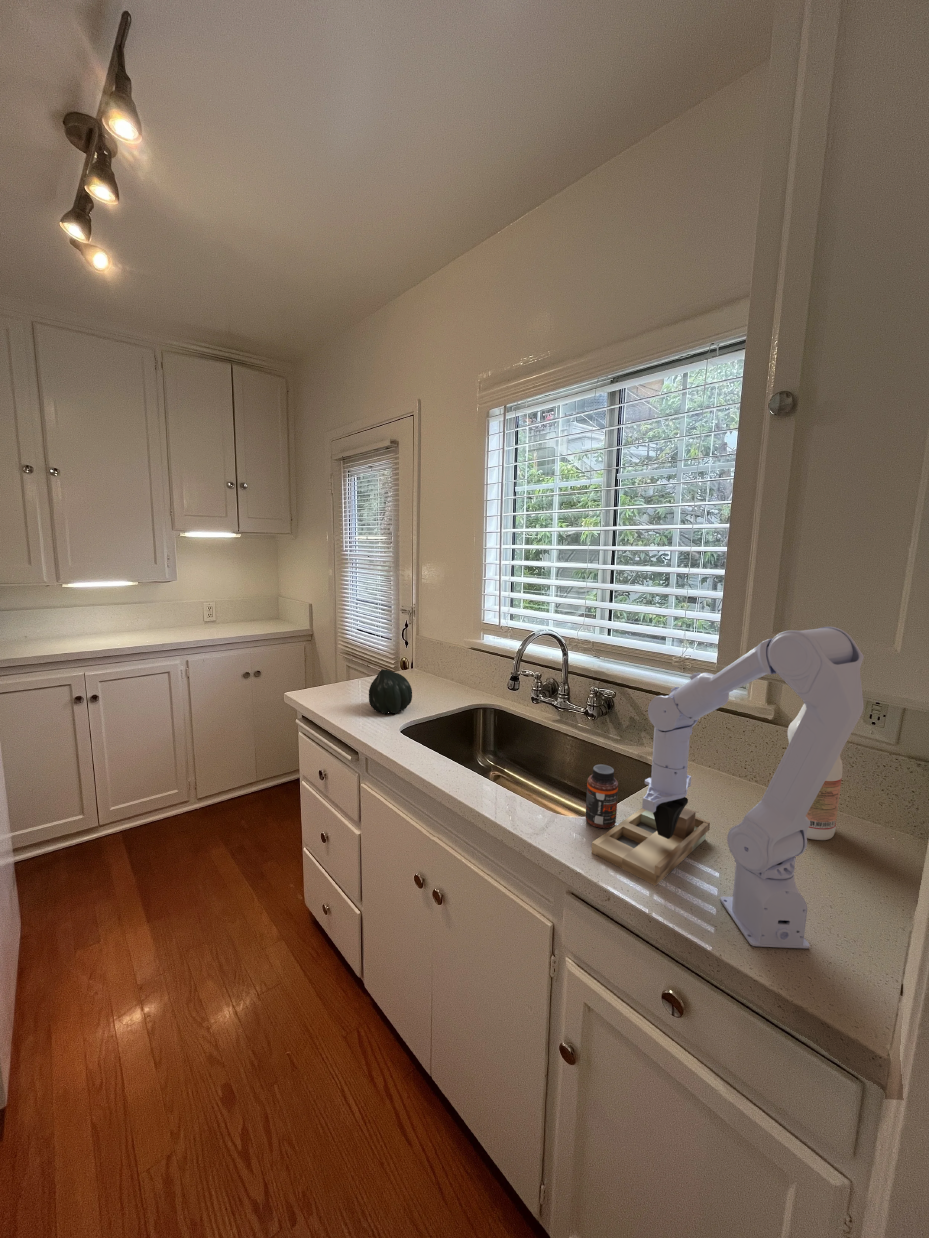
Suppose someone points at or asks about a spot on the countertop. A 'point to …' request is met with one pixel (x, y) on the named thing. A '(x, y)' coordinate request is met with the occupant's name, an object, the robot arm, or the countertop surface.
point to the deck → (647, 846)
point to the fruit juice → (822, 796)
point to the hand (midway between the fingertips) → (664, 835)
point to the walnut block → (685, 823)
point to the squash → (390, 692)
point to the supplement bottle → (602, 797)
